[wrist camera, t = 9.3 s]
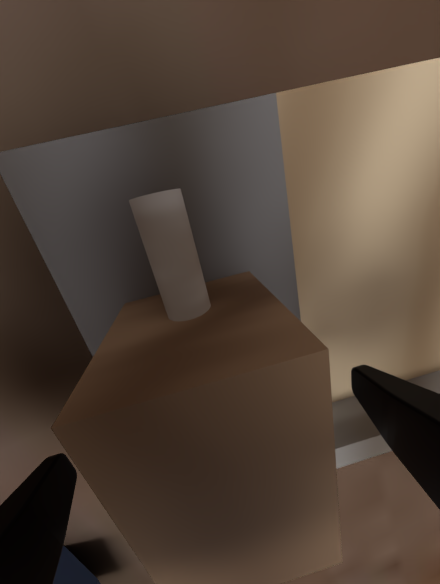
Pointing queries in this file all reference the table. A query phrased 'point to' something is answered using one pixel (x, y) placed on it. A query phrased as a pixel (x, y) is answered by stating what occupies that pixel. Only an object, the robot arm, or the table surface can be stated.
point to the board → (268, 218)
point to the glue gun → (72, 570)
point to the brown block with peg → (208, 423)
